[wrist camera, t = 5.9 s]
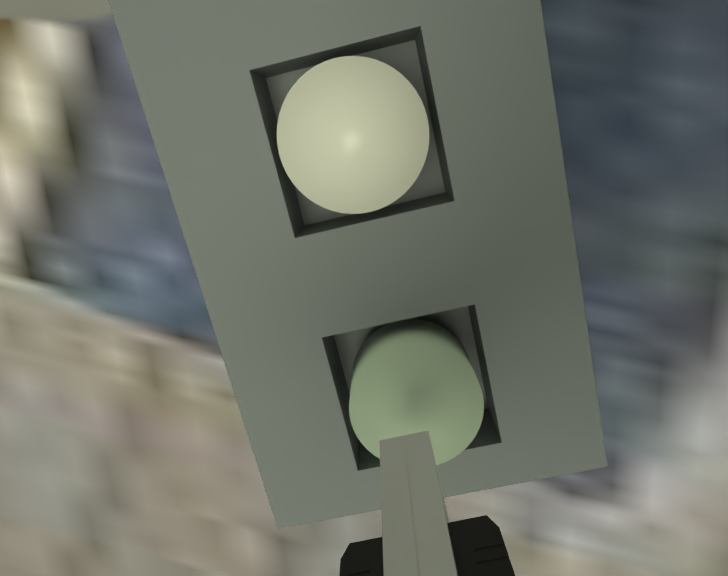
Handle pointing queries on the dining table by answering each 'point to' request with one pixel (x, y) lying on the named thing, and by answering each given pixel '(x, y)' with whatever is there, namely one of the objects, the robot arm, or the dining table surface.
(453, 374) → the sage button
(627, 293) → the dining table surface
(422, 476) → the robot arm
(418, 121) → the cream button
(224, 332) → the button console
